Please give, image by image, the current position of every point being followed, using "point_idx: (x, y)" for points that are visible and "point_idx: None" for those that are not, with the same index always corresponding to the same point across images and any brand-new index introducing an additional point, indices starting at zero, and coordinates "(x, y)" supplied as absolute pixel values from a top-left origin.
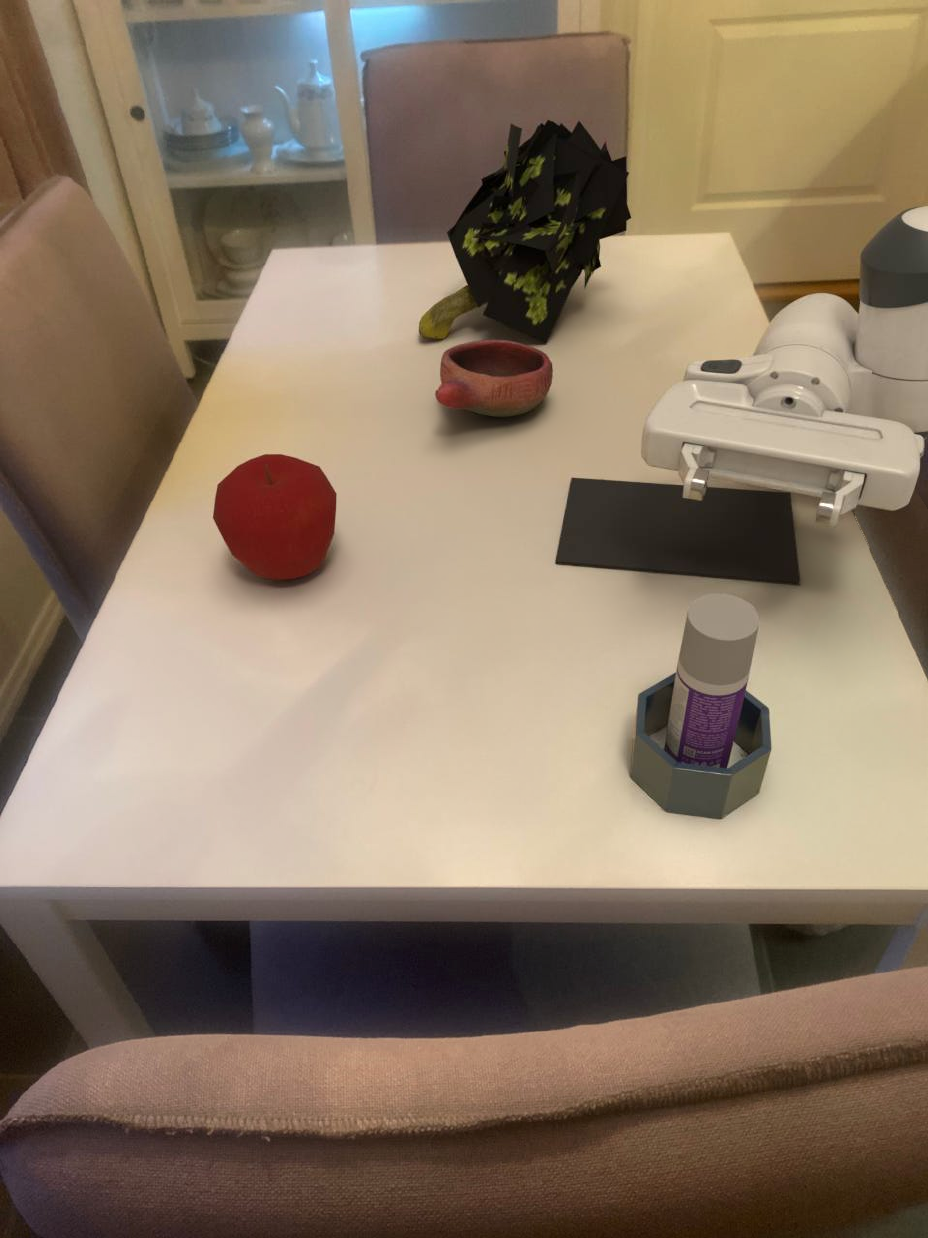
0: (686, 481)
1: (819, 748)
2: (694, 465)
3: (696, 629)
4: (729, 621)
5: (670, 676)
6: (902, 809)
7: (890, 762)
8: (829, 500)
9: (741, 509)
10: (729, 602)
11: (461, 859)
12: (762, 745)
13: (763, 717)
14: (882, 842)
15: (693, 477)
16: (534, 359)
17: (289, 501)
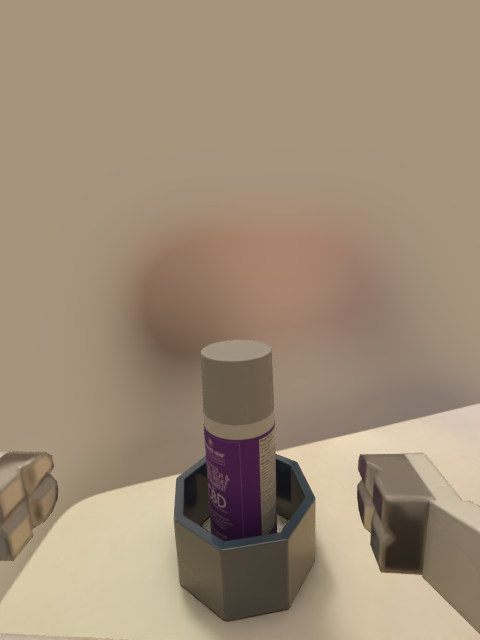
0: (414, 453)
1: (102, 617)
2: (456, 507)
3: (257, 341)
4: (229, 347)
5: (292, 529)
6: (44, 559)
7: (17, 623)
8: (6, 463)
9: None
10: (232, 356)
11: (367, 440)
12: (184, 479)
13: (181, 506)
14: (82, 522)
15: (406, 460)
16: None
17: None
